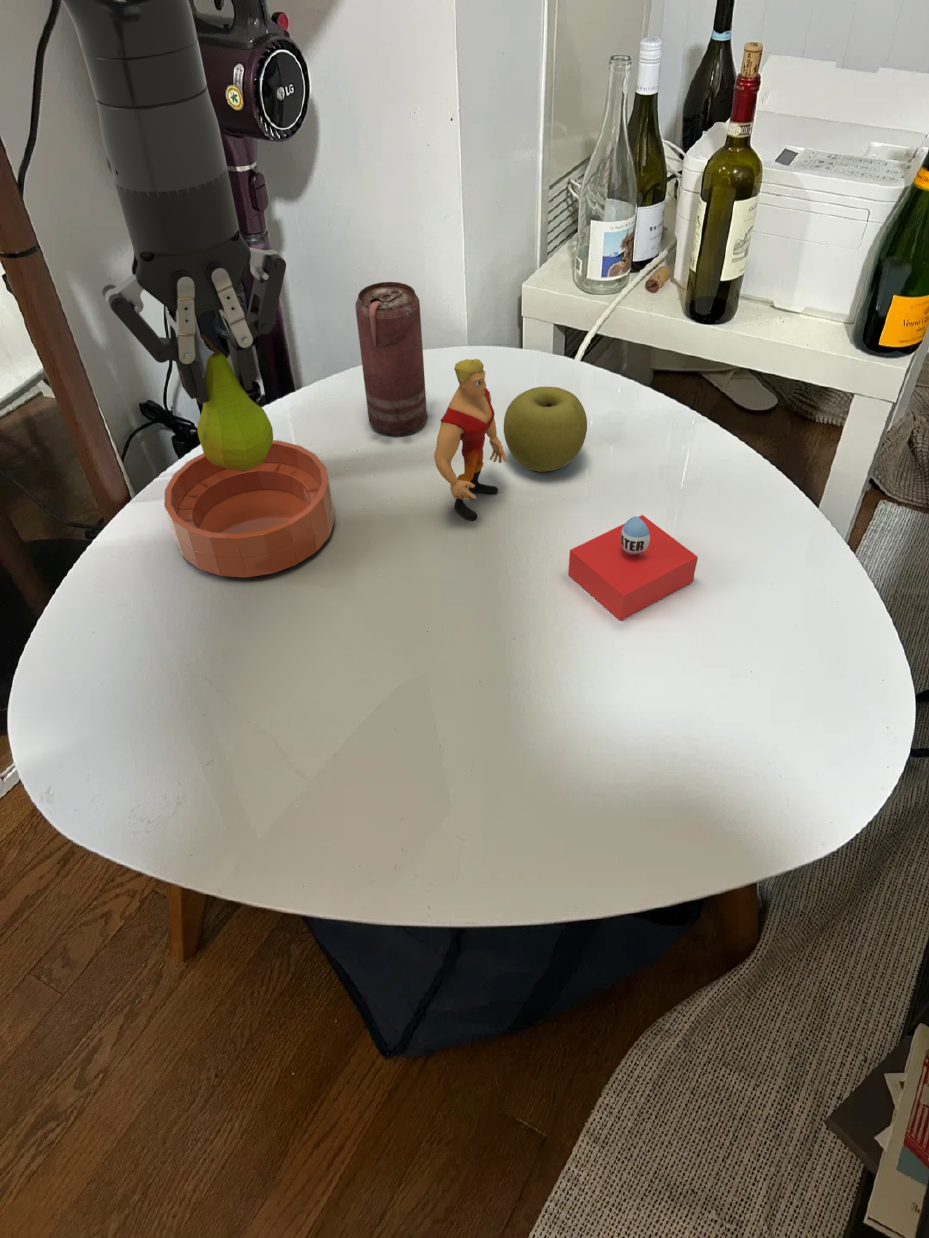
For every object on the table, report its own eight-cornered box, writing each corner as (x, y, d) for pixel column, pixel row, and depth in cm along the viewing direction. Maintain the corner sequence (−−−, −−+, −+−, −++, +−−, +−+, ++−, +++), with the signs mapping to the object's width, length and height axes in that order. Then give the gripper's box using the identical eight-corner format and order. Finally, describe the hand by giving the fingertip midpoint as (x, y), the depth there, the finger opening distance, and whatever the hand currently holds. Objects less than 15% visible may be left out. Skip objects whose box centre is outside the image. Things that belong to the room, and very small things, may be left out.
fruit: (293, 464, 79) (270, 334, 71) (232, 495, 76) (200, 363, 68) (251, 434, 82) (224, 307, 74) (191, 463, 79) (156, 333, 71)
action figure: (468, 537, 83) (463, 390, 72) (433, 526, 84) (423, 380, 74) (513, 480, 89) (515, 336, 78) (480, 470, 90) (477, 327, 79)
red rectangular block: (620, 620, 75) (627, 562, 70) (568, 574, 79) (572, 517, 75) (692, 581, 78) (704, 523, 73) (639, 539, 82) (646, 481, 78)
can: (360, 435, 95) (344, 307, 85) (379, 402, 99) (365, 276, 89) (417, 442, 94) (407, 312, 84) (433, 408, 98) (426, 281, 88)
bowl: (207, 603, 78) (194, 559, 74) (159, 514, 87) (144, 470, 83) (360, 546, 82) (354, 501, 79) (299, 466, 91) (291, 423, 88)
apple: (574, 491, 87) (579, 427, 82) (493, 477, 89) (493, 413, 84) (591, 446, 92) (597, 383, 87) (514, 434, 94) (515, 372, 89)
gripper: (76, 207, 57) (150, 441, 70) (287, 161, 62) (322, 388, 74) (50, 170, 62) (124, 396, 74) (248, 131, 67) (287, 349, 79)
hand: (223, 391), depth 74 cm, fingers closed on fruit, 3 cm apart
